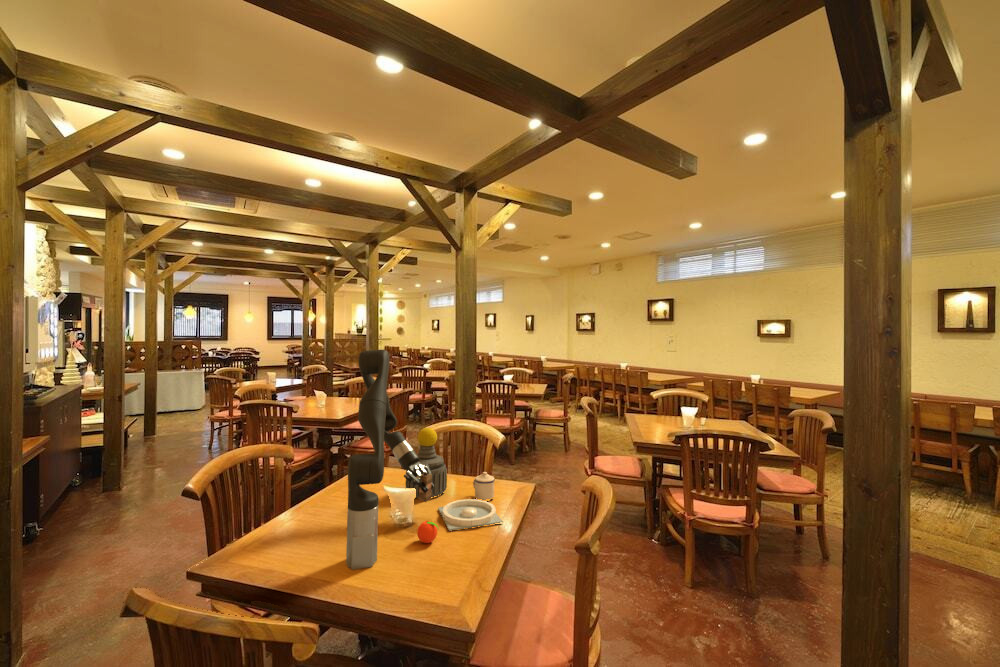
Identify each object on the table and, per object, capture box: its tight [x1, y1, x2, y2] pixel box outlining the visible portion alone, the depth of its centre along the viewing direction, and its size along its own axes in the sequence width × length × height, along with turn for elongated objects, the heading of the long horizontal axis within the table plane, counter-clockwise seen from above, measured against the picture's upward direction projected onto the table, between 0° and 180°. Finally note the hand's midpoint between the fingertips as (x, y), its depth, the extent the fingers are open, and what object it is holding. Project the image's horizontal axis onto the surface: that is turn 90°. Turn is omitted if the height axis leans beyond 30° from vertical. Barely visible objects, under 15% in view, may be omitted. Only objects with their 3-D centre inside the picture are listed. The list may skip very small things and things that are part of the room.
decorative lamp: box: [404, 427, 448, 498], centre depth 187 cm, size 19×19×30 cm
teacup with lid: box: [472, 471, 495, 500], centre depth 182 cm, size 12×9×12 cm
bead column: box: [418, 472, 432, 503], centre depth 159 cm, size 3×3×11 cm
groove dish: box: [437, 498, 504, 532], centre depth 161 cm, size 21×21×3 cm
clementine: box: [416, 520, 439, 544], centre depth 139 cm, size 8×7×7 cm
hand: (429, 489), depth 158 cm, fingers closed on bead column, 3 cm apart
